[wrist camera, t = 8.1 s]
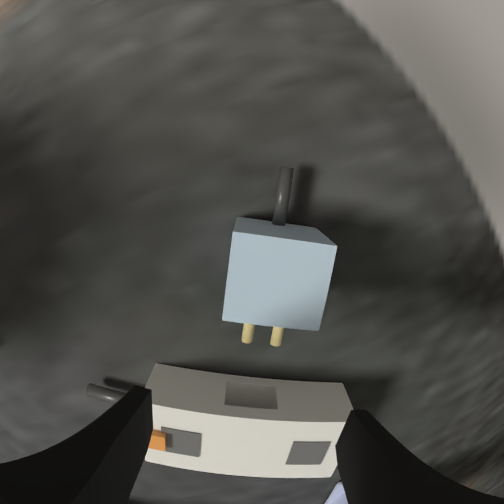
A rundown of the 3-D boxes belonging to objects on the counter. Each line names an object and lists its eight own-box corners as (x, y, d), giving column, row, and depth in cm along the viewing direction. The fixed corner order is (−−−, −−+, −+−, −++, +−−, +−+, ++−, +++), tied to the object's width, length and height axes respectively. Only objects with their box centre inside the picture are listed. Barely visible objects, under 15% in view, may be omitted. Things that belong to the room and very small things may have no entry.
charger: (295, 330, 19) (307, 373, 15) (224, 322, 19) (217, 364, 15) (324, 174, 17) (349, 175, 12) (244, 162, 17) (242, 157, 12)
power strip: (321, 438, 22) (331, 481, 17) (99, 408, 21) (78, 446, 17) (342, 382, 21) (360, 426, 16) (90, 348, 20) (61, 385, 15)
